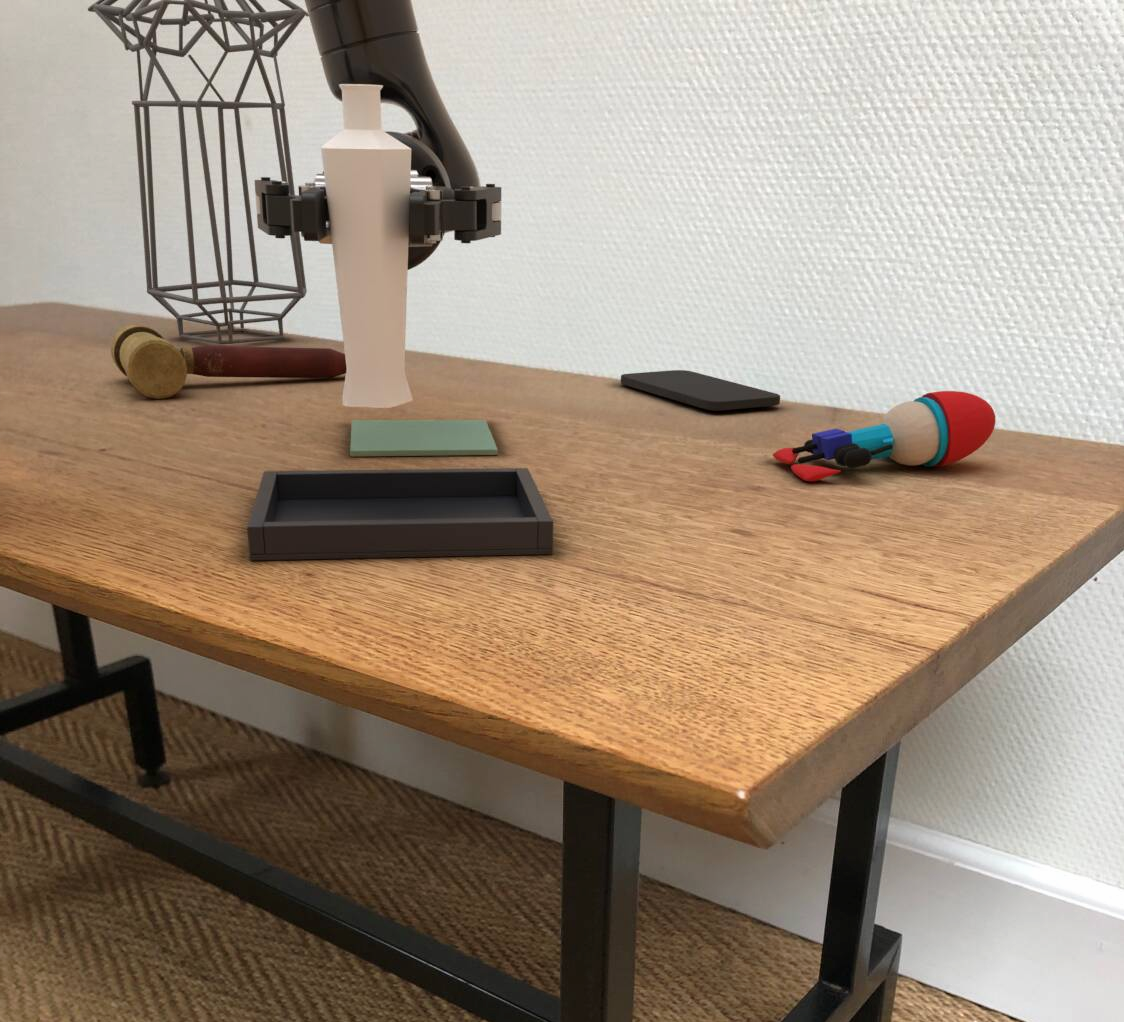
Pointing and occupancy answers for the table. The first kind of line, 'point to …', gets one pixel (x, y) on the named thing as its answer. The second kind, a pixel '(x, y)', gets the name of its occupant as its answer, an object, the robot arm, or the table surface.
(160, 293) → the geometric lantern
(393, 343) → the perfume bottle
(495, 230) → the robot arm
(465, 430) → the mat
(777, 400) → the phone
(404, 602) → the table surface
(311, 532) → the tray
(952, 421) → the toy figure
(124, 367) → the gavel
